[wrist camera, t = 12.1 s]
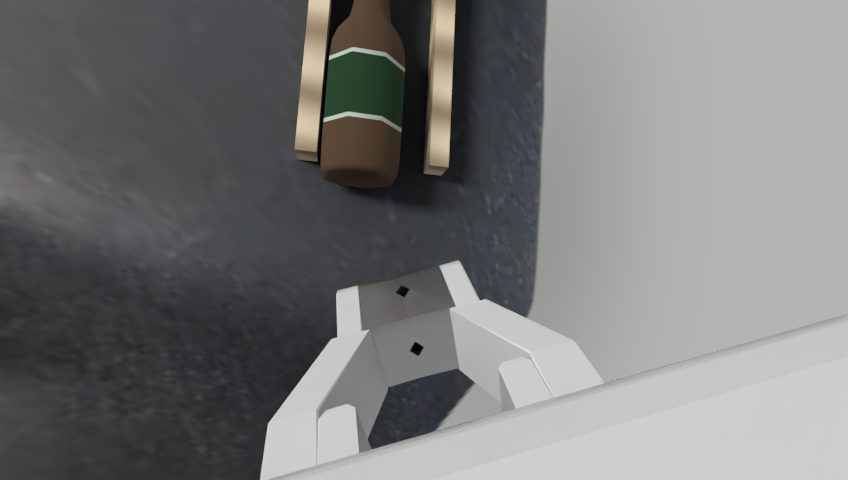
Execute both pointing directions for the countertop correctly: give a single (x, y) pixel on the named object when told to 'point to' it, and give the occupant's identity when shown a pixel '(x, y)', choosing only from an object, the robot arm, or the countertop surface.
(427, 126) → the u rest
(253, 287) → the countertop surface
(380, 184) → the beer bottle
